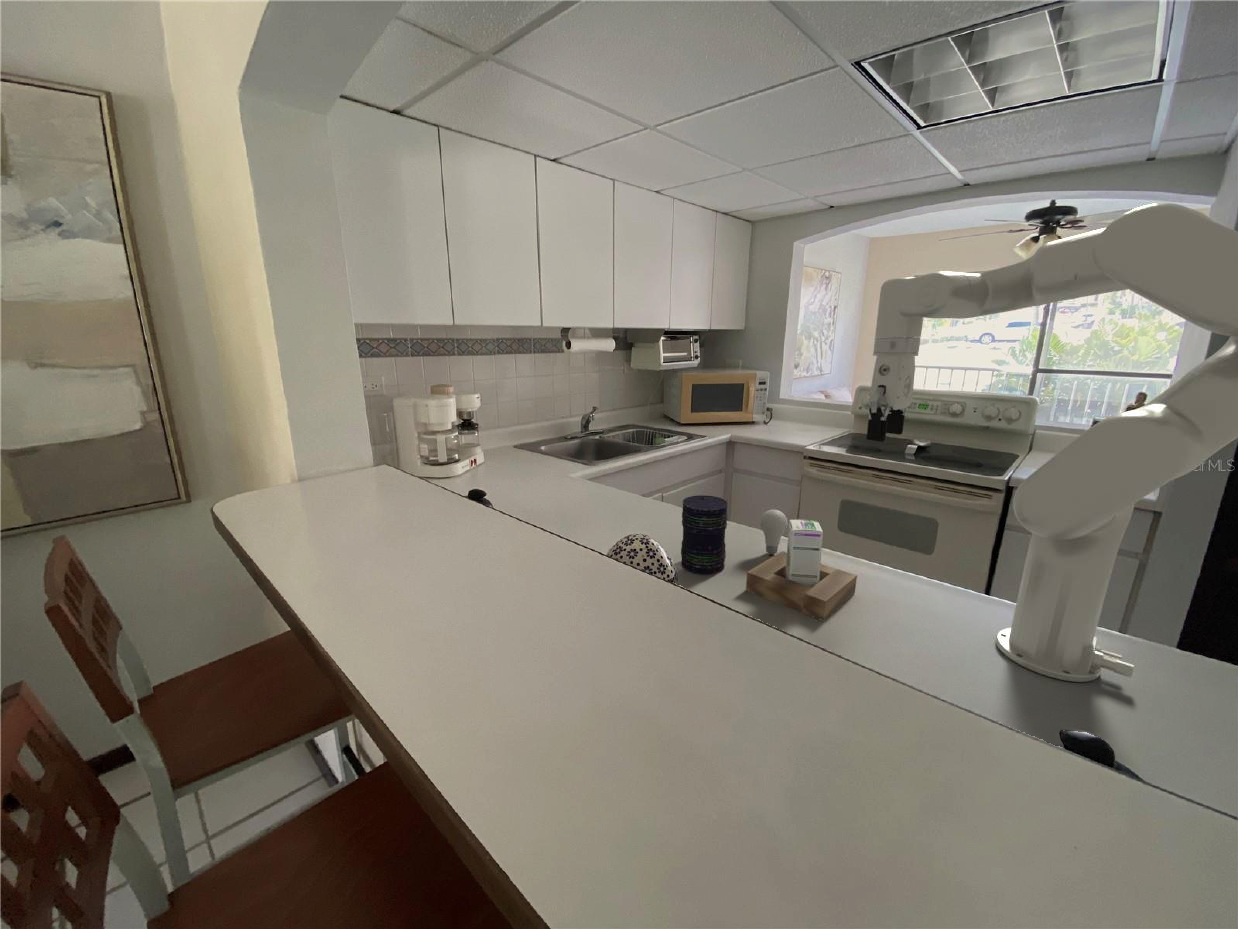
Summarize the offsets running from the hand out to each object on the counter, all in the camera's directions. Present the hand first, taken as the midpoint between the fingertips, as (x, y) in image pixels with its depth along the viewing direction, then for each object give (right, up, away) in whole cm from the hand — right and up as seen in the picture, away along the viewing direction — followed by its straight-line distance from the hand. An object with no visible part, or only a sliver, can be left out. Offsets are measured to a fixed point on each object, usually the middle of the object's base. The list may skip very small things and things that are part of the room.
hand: (884, 436), depth 97 cm
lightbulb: (-17, -27, +19) cm, 37 cm away
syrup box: (-16, -31, +2) cm, 35 cm away
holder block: (-16, -31, +2) cm, 35 cm away
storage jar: (-34, -28, +14) cm, 46 cm away
